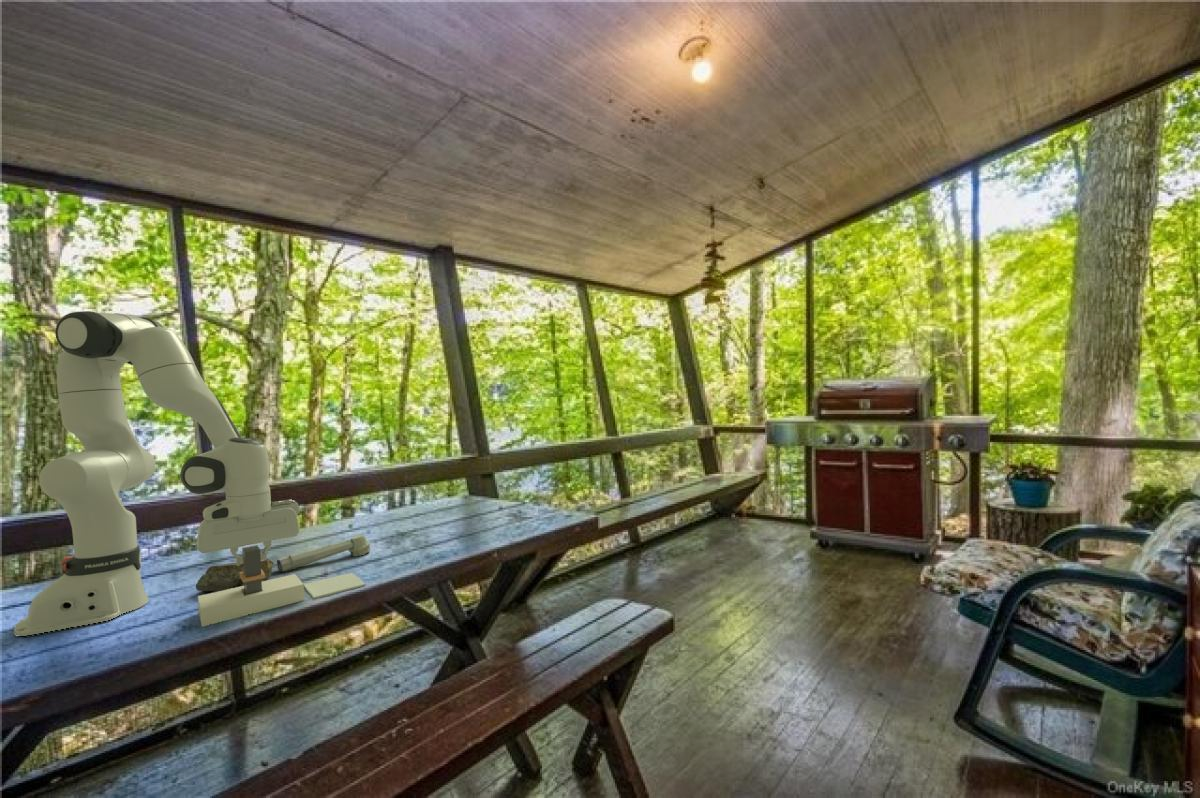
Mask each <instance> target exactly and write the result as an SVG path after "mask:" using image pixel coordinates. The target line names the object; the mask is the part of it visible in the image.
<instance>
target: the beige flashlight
mask: <svg viewBox="0 0 1200 798" xmlns="http://www.w3.org/2000/svg"><path fill="white" fill-rule="evenodd" d="M370 546H371V542H370V541H368V540H367V538H366V536H365V535H364V534H358V535H354V536H351V538H350V539H346V540H343V541H339V542H336V543H332V544H327V545H324V546H320V547H316V548H313V549H310V550H305V551H302V552H297V553H295V554H291V553H290V554H289V555H288V556H284V557H282V558H278V559H276V564H277V566H276V567H277V569H278V572H279V573H280V572H281V573H285V572H288V571H291V570H293V569H295V570H296V569H297V568H300V567H302V566H306V565H309V564H311V563H315V562H317V561H321V560H324V559H326V558H329V557H332V556H335V555H338V554H341V553H344V552H346V551H348V552H349V553H350V556H351V555H352V556H356V557H359V556H360V557H362V556H361V555H363V556H365V555H366V554H368V553H371V548H370ZM352 556H351V557H352ZM284 571H285V572H284Z"/></svg>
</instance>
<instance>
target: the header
mask: <svg viewBox="0 0 1200 798" xmlns="http://www.w3.org/2000/svg"><path fill="white" fill-rule="evenodd" d="M304 584H305V583H303V581H301V580H300V577H299V576H297V575H296V574H295V573H294V574H290V575H286V576H285V575H284V576H281V577H276V578H272V579H267V580H265V581H262V591H261V592H257V593H253V594H249V595H245V594H244V585H240V586H237V587H235V588H232V589H227V590H223V591H213V592H211V593H207V594H201V595H197V605H198V607H197V608H198V617H199V621H200V625H201V627H202V628H203V627H207V626H210V624H211V625H215V624H219V623H222V621H223V622H226V621H230V620H234V619H239V618H241V617H245V616H249V615H248V614H250V615H253V614H256V613H260V612H264V611H269V610H271V609H277V608H280V607H284V606H287V605H292V604H295V603H300V602H303V601H305V587H304ZM252 613H253V614H252ZM218 622H219V623H218Z"/></svg>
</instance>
